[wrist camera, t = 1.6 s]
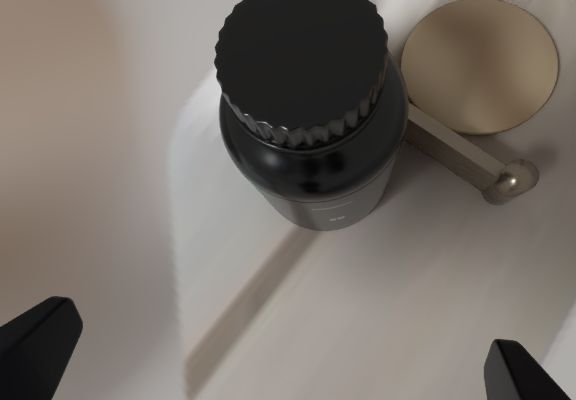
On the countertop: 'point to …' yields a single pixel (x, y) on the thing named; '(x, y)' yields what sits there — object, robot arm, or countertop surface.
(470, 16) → the cork coaster
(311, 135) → the supplement bottle
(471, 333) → the countertop surface
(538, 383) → the robot arm
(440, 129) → the bent rail
